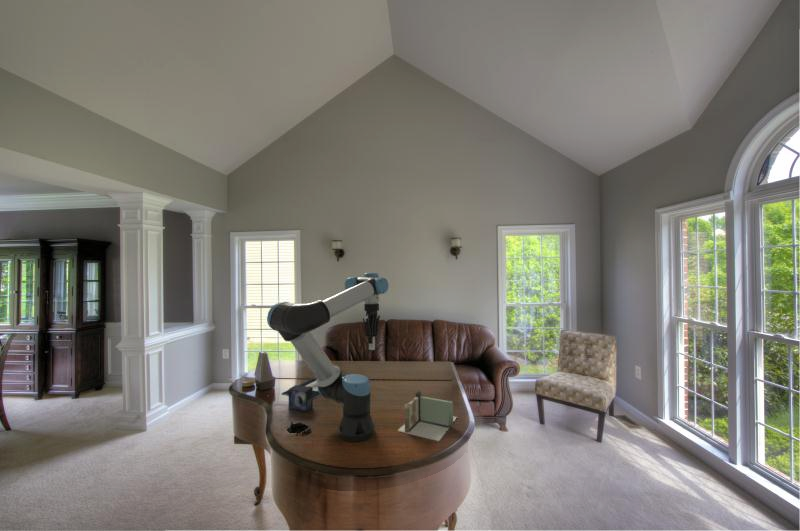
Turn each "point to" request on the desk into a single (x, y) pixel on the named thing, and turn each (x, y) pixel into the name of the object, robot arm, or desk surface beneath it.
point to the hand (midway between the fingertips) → (371, 349)
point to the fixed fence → (412, 412)
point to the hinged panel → (436, 410)
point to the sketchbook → (309, 384)
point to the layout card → (427, 429)
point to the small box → (300, 398)
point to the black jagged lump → (298, 428)
